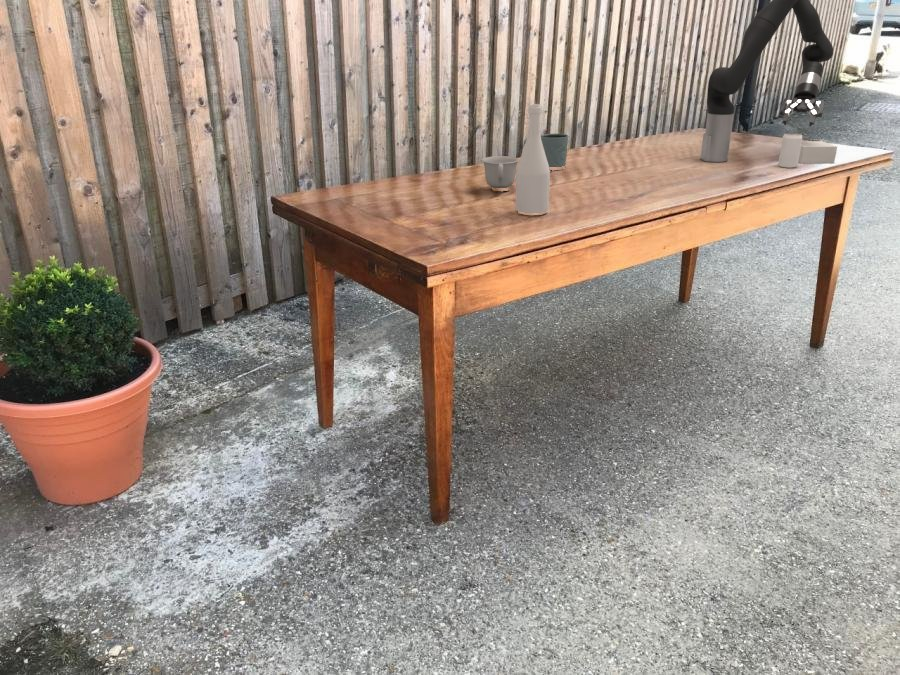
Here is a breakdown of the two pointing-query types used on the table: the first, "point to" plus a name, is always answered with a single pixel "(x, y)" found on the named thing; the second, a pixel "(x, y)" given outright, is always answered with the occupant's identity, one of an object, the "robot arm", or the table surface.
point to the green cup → (555, 149)
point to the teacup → (500, 170)
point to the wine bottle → (533, 169)
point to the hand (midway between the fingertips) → (797, 124)
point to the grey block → (817, 152)
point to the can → (790, 149)
